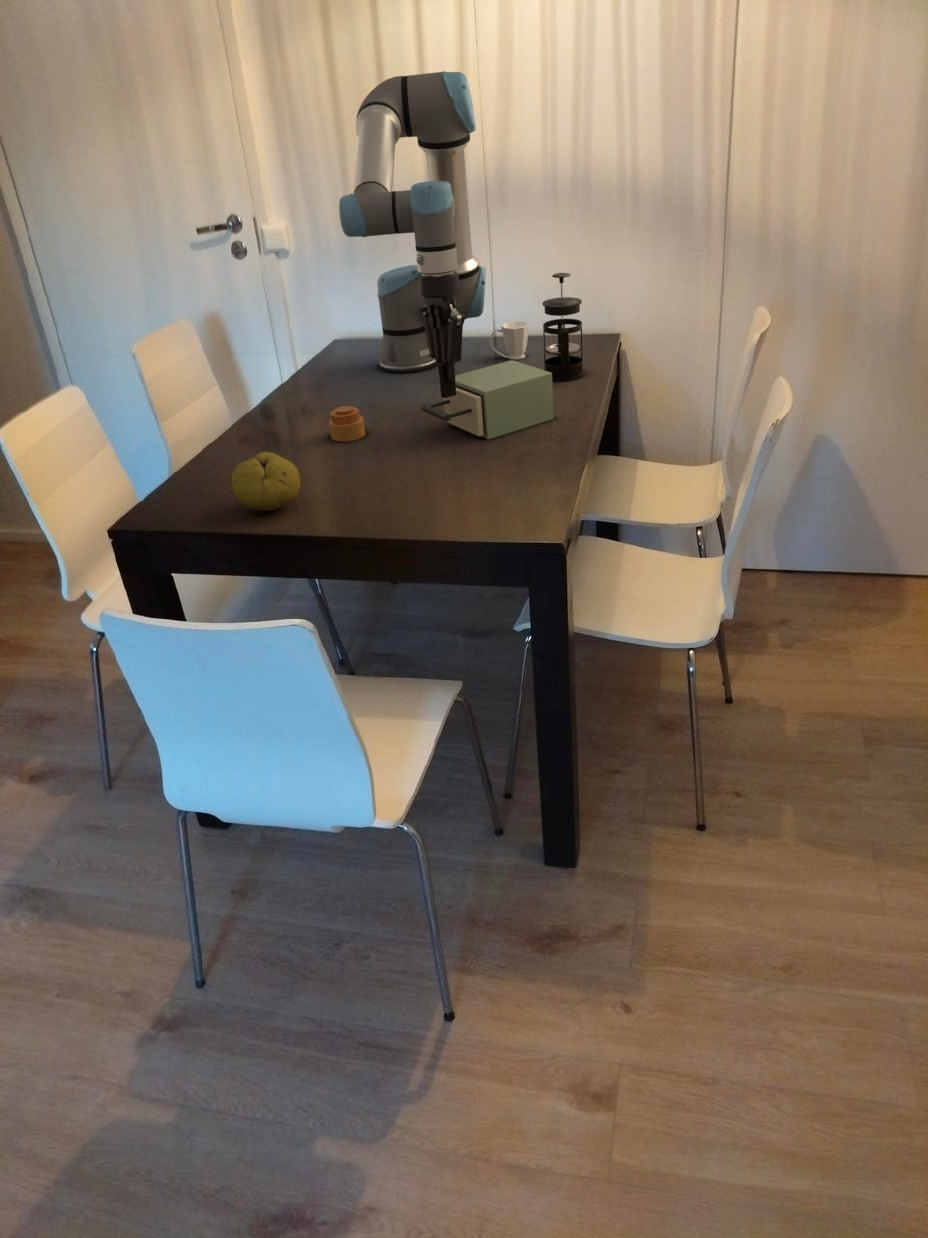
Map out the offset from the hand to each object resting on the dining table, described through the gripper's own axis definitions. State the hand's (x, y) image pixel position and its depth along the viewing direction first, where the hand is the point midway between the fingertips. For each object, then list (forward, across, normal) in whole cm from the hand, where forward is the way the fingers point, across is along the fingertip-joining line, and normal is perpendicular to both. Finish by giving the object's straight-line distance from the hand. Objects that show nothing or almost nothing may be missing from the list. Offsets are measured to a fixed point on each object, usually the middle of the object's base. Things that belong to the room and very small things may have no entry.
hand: (448, 395), depth 187 cm
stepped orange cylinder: (+9, -17, -15) cm, 24 cm away
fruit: (+9, +7, -43) cm, 45 cm away
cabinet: (+9, 0, +13) cm, 15 cm away
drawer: (+8, 0, +7) cm, 10 cm away
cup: (+8, -37, +42) cm, 57 cm away
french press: (+9, -15, +42) cm, 45 cm away
